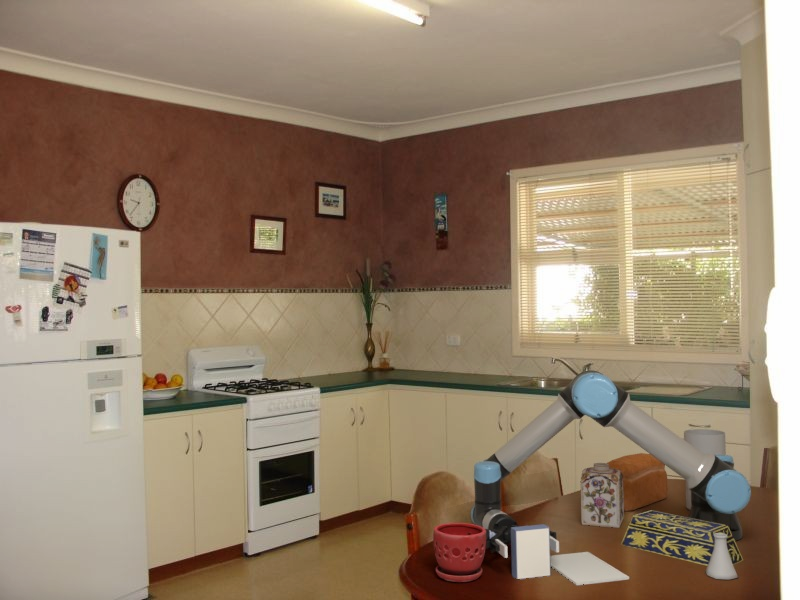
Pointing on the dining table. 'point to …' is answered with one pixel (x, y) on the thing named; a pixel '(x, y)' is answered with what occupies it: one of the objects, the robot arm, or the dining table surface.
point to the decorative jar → (602, 496)
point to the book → (530, 551)
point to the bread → (641, 479)
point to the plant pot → (459, 551)
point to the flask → (720, 560)
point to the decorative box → (678, 536)
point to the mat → (585, 568)
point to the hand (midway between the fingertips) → (532, 549)
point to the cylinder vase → (704, 447)
